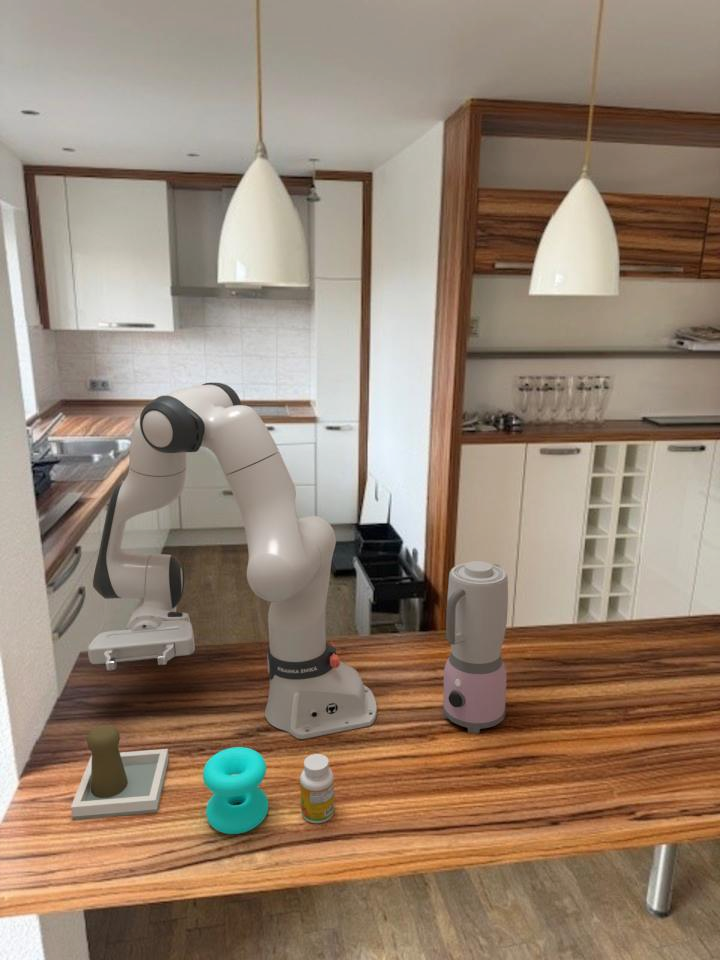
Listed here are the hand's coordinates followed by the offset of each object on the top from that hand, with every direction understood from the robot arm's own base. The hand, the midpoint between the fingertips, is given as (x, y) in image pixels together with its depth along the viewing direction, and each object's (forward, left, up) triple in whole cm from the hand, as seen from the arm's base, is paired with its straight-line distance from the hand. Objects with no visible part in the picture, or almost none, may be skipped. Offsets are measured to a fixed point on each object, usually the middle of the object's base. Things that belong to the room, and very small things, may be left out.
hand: (136, 664), depth 135 cm
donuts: (-19, +25, -15) cm, 35 cm away
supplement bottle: (-32, +26, -15) cm, 44 cm away
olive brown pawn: (+3, +16, -14) cm, 22 cm away
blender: (-63, +4, -15) cm, 65 cm away
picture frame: (+1, +16, -15) cm, 22 cm away
